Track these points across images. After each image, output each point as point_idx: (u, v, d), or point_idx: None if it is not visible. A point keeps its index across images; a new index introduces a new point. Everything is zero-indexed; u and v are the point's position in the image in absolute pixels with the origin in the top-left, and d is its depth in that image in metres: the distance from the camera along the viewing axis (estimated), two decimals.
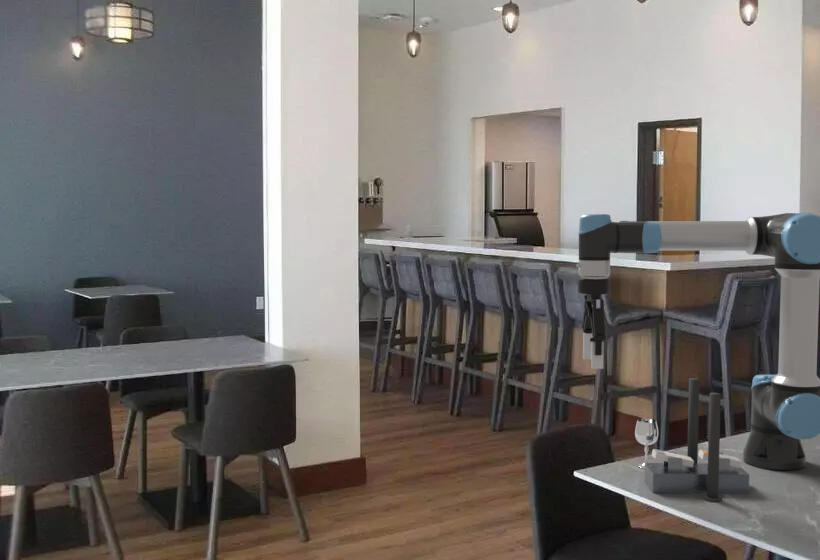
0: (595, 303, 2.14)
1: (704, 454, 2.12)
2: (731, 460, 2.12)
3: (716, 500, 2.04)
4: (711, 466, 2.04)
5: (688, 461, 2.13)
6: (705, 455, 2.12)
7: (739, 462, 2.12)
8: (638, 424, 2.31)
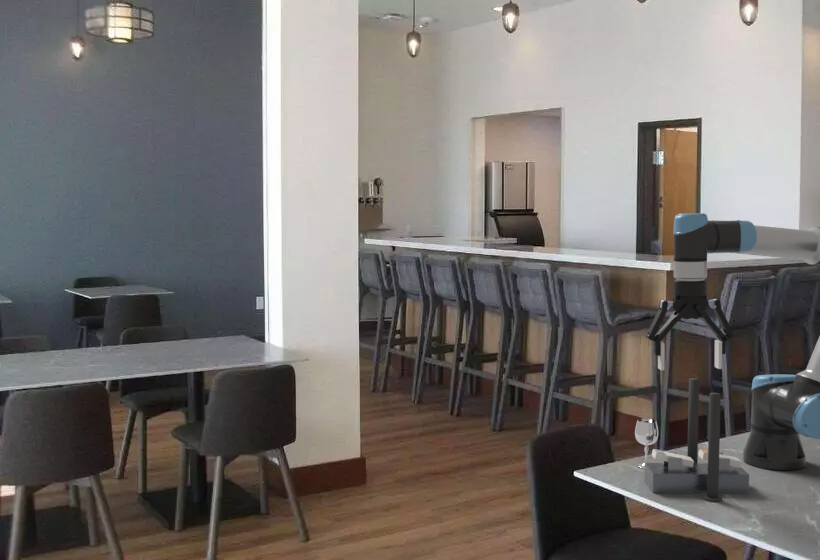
0: (660, 303, 2.13)
1: (704, 454, 2.12)
2: (731, 460, 2.12)
3: (716, 500, 2.04)
4: (711, 466, 2.04)
5: (688, 461, 2.13)
6: (705, 455, 2.12)
7: (739, 462, 2.12)
8: (638, 424, 2.31)
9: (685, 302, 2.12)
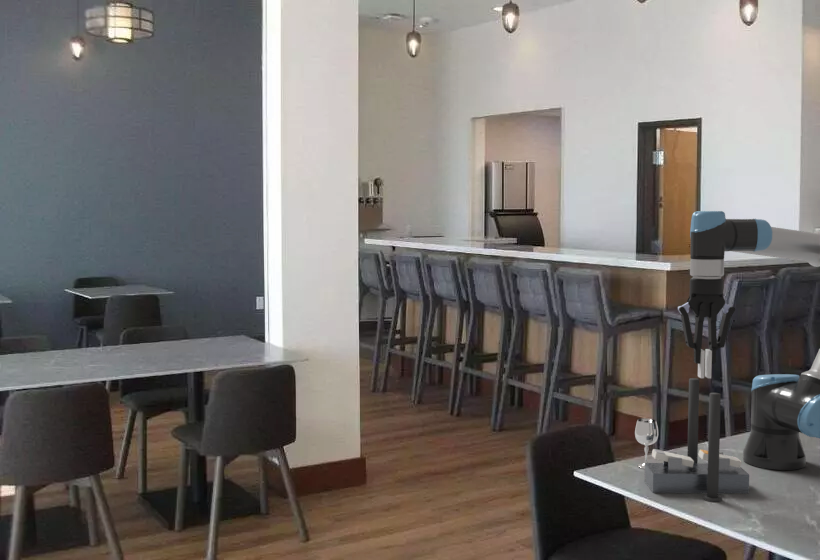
0: None
1: (704, 454, 2.12)
2: (731, 460, 2.12)
3: (716, 500, 2.04)
4: (711, 466, 2.04)
5: (688, 461, 2.13)
6: (705, 455, 2.12)
7: (739, 462, 2.12)
8: (638, 424, 2.30)
9: (698, 296, 2.10)
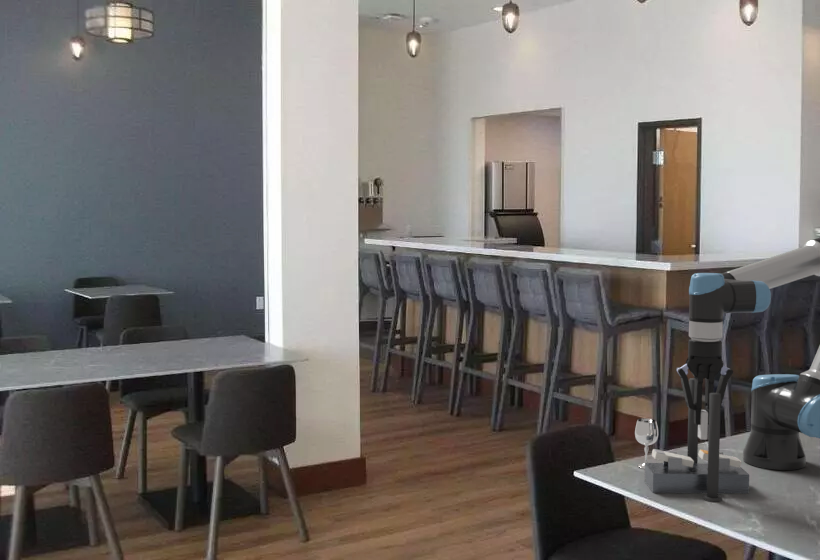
0: (677, 372, 2.14)
1: (704, 454, 2.12)
2: (731, 460, 2.12)
3: (716, 500, 2.04)
4: (711, 466, 2.04)
5: (688, 461, 2.13)
6: (705, 455, 2.12)
7: (739, 462, 2.12)
8: (638, 424, 2.31)
9: (696, 358, 2.11)
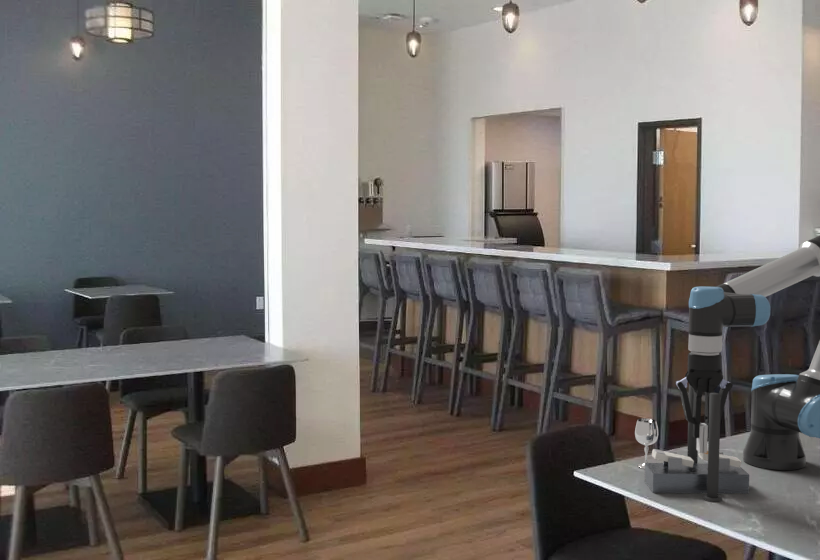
0: None
1: (704, 454, 2.12)
2: (731, 460, 2.12)
3: (716, 500, 2.04)
4: (711, 466, 2.04)
5: (688, 461, 2.13)
6: (705, 455, 2.12)
7: (739, 462, 2.12)
8: (638, 424, 2.30)
9: (696, 371, 2.12)
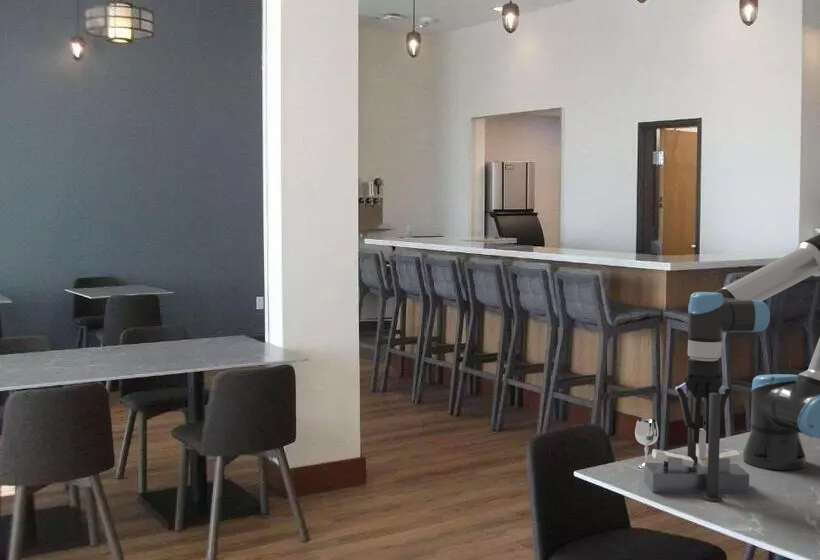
0: (676, 391, 2.14)
1: (703, 461, 2.13)
2: (730, 456, 2.12)
3: (716, 500, 2.04)
4: (711, 466, 2.04)
5: (688, 461, 2.13)
6: (704, 462, 2.13)
7: (739, 455, 2.12)
8: (638, 424, 2.31)
9: (695, 377, 2.12)
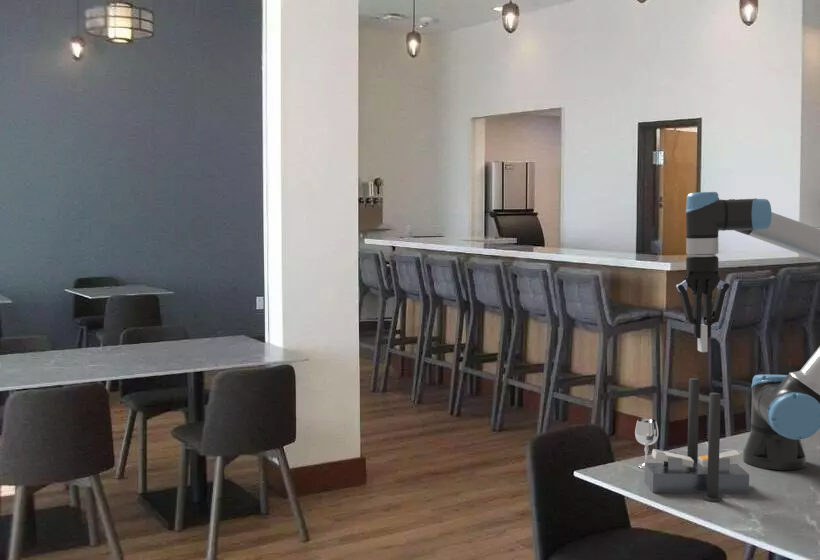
0: (677, 289, 2.22)
1: (703, 461, 2.13)
2: (730, 456, 2.12)
3: (716, 500, 2.04)
4: (711, 466, 2.04)
5: (688, 461, 2.13)
6: (704, 462, 2.13)
7: (738, 455, 2.12)
8: (638, 424, 2.31)
9: (695, 274, 2.20)
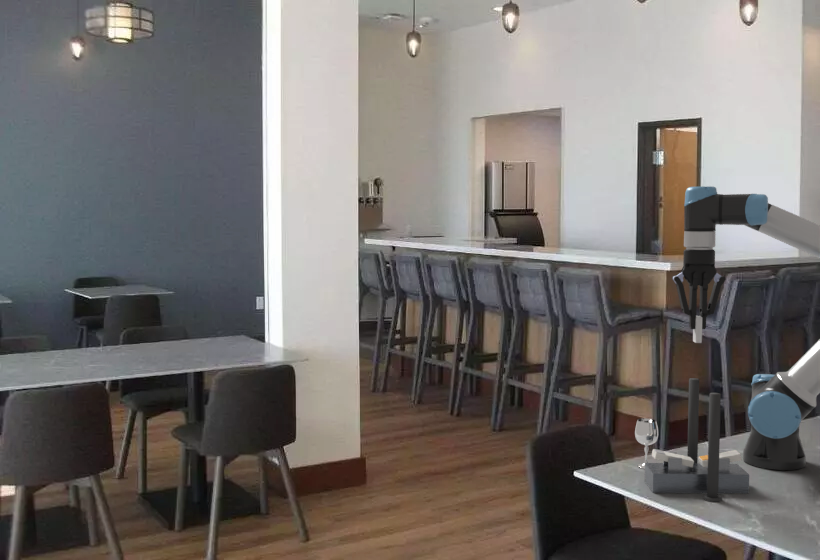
0: (673, 280, 2.28)
1: (703, 461, 2.13)
2: (730, 456, 2.12)
3: (716, 500, 2.04)
4: (711, 466, 2.04)
5: (688, 461, 2.13)
6: (704, 462, 2.13)
7: (738, 455, 2.12)
8: (638, 424, 2.31)
9: (691, 266, 2.26)
